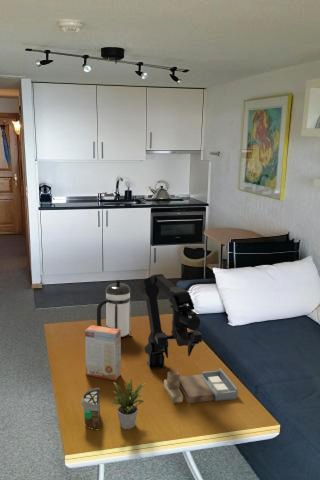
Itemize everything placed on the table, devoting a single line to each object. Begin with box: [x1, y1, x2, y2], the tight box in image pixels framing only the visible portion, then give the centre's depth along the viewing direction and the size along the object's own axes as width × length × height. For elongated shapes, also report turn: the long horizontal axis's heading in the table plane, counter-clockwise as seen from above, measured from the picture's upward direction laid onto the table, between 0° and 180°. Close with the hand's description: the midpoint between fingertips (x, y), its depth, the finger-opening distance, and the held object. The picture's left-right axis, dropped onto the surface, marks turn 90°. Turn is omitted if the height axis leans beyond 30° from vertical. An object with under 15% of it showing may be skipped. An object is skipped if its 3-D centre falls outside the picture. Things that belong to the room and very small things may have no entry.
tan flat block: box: [179, 374, 215, 404], centre depth 183 cm, size 10×16×2 cm, turn 15°
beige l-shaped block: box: [163, 370, 184, 404], centre depth 181 cm, size 4×13×9 cm, turn 14°
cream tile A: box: [213, 384, 228, 394], centre depth 183 cm, size 4×4×2 cm
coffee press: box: [96, 279, 133, 338], centre depth 232 cm, size 17×16×30 cm
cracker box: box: [84, 324, 122, 381], centre depth 193 cm, size 14×6×21 cm, turn 71°
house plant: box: [110, 378, 148, 430], centre depth 157 cm, size 14×14×16 cm
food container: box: [80, 387, 101, 430], centre depth 161 cm, size 12×6×10 cm, turn 5°
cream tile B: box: [208, 376, 222, 387], centre depth 189 cm, size 4×4×2 cm
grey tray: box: [199, 367, 239, 402], centre depth 186 cm, size 9×18×4 cm, turn 15°
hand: (177, 356), depth 187 cm, fingers open, 9 cm apart
